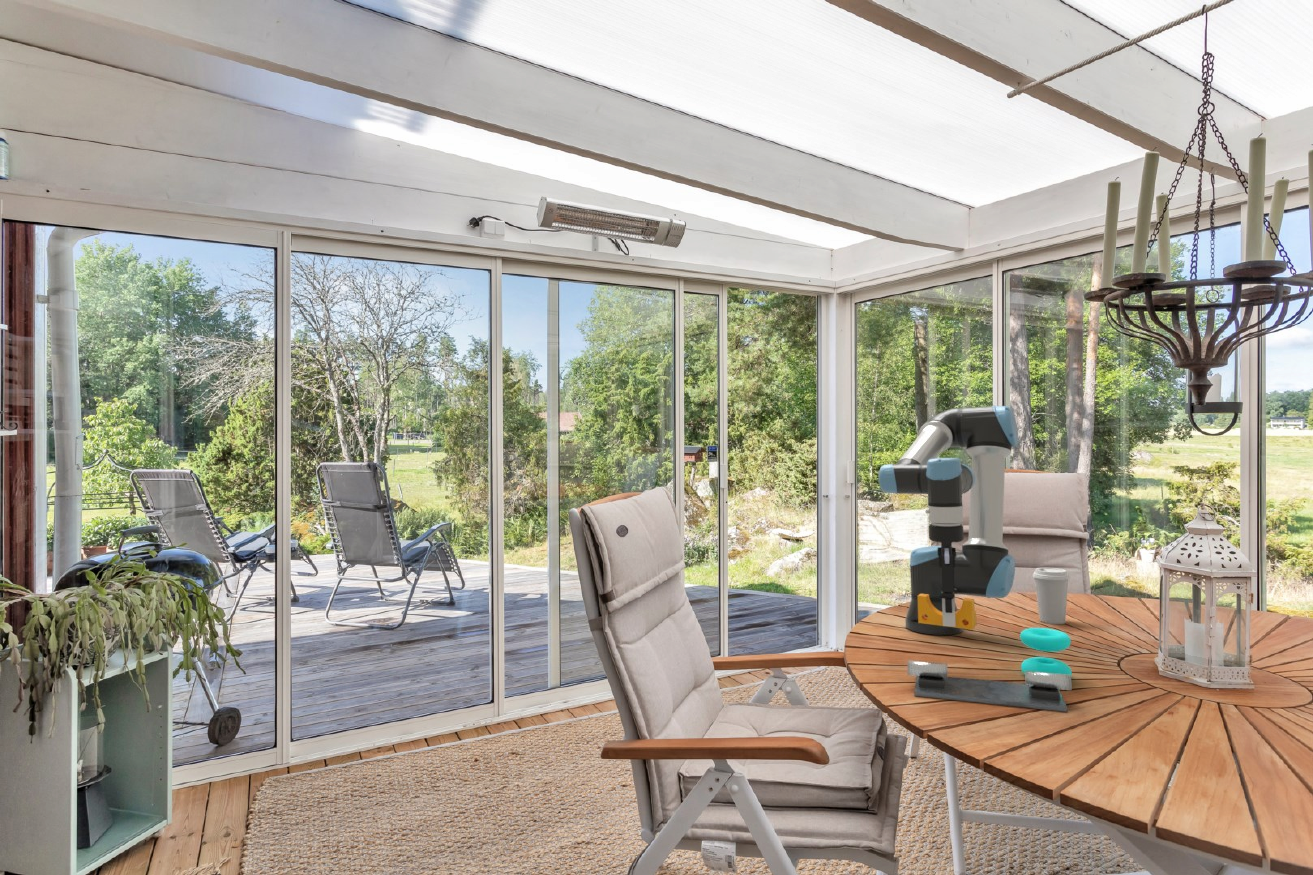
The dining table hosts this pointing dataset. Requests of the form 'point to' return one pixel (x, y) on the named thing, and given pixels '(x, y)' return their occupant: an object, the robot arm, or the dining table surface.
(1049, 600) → the coffee cup
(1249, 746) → the dining table surface
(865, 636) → the dining table surface
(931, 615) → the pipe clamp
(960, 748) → the dining table surface
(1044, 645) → the donuts
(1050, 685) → the shaft stand
